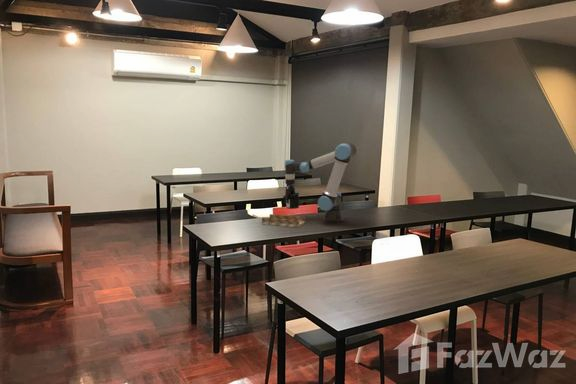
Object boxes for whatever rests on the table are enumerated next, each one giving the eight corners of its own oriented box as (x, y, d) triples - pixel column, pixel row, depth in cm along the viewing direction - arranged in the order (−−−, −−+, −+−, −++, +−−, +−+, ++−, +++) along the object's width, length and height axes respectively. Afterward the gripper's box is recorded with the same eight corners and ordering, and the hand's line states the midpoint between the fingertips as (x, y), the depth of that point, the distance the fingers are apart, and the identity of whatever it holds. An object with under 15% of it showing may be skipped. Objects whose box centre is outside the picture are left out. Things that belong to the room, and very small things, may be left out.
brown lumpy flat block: (305, 223, 365) (305, 217, 365) (298, 227, 350) (298, 220, 350) (270, 220, 376) (270, 214, 375) (262, 224, 361) (262, 217, 361)
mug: (294, 209, 371) (293, 194, 369) (279, 208, 379) (279, 193, 378) (302, 207, 379) (301, 193, 378) (287, 206, 388) (287, 191, 386)
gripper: (290, 177, 388) (291, 204, 391) (280, 180, 367) (281, 208, 370) (299, 177, 385) (299, 204, 388) (289, 180, 364) (289, 208, 367)
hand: (290, 206), depth 379 cm, fingers closed on mug, 10 cm apart
